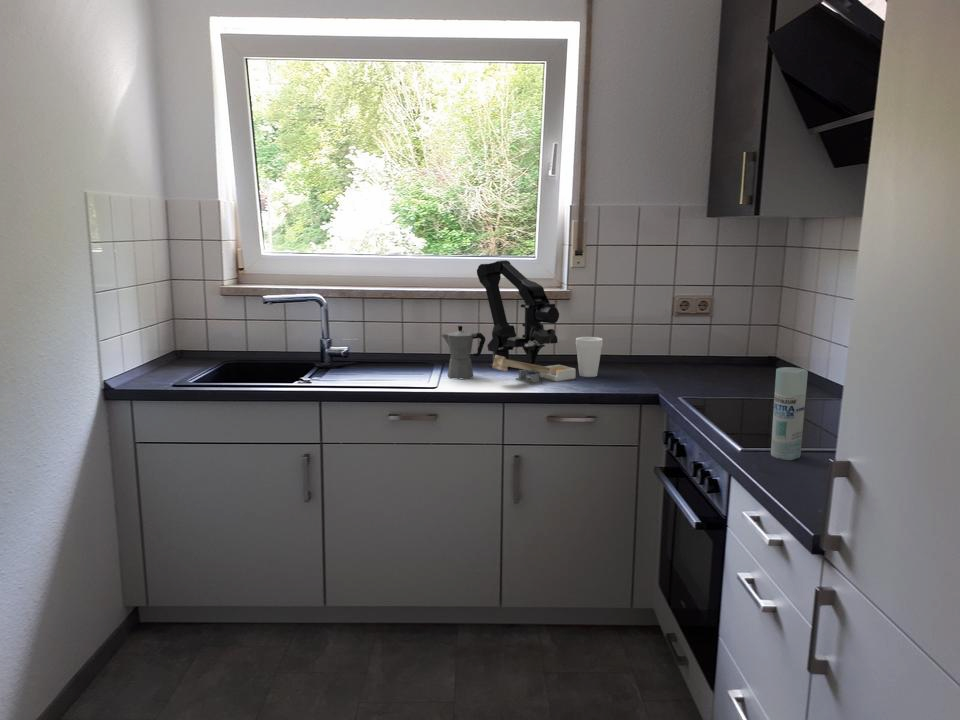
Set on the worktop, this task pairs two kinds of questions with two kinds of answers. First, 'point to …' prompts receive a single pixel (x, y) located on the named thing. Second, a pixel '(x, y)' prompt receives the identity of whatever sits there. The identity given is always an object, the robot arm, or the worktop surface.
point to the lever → (517, 365)
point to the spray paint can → (788, 412)
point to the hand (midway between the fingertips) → (532, 364)
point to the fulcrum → (532, 380)
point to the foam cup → (588, 355)
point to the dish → (559, 373)
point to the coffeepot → (462, 352)
